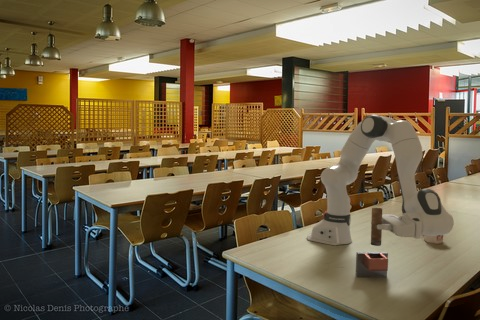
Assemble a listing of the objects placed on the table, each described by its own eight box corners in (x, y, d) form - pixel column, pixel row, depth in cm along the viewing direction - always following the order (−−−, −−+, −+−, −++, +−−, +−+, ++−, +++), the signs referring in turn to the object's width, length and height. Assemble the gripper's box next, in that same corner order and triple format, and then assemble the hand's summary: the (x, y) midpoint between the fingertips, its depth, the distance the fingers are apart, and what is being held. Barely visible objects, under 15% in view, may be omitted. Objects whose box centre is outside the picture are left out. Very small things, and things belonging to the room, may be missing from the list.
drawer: (385, 275, 156) (386, 252, 155) (393, 283, 148) (394, 258, 147) (355, 275, 155) (356, 252, 155) (362, 283, 148) (363, 259, 147)
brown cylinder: (370, 245, 150) (371, 209, 149) (371, 242, 154) (372, 207, 153) (380, 246, 149) (381, 210, 147) (381, 243, 152) (382, 208, 151)
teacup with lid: (439, 245, 194) (441, 222, 193) (420, 241, 201) (422, 218, 200) (447, 240, 203) (449, 218, 202) (429, 236, 209) (430, 215, 208)
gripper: (398, 210, 161) (364, 210, 161) (423, 222, 141) (385, 223, 140) (397, 225, 162) (364, 225, 161) (422, 240, 141) (384, 240, 141)
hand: (374, 224), depth 151 cm, fingers closed on brown cylinder, 4 cm apart
